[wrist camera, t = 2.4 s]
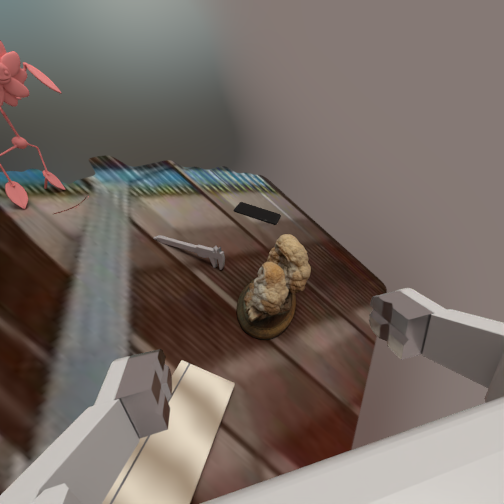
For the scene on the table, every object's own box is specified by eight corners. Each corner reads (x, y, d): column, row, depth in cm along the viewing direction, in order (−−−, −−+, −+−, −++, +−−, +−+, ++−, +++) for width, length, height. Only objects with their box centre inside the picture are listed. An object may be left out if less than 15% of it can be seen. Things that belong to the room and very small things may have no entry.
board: (116, 700, 18) (112, 709, 17) (23, 633, 19) (14, 638, 18) (233, 387, 36) (234, 383, 36) (181, 364, 38) (181, 360, 37)
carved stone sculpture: (253, 268, 58) (269, 207, 48) (300, 285, 57) (326, 225, 46) (224, 327, 44) (236, 259, 34) (284, 351, 43) (317, 288, 32)
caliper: (223, 269, 57) (226, 248, 53) (221, 271, 56) (223, 251, 52) (156, 237, 61) (153, 217, 57) (152, 239, 61) (150, 218, 57)
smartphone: (276, 224, 75) (233, 210, 78) (275, 226, 76) (232, 212, 78) (281, 214, 80) (240, 201, 83) (280, 216, 81) (240, 203, 83)
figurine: (-28, 213, 56) (-160, 8, 35) (67, 178, 76) (21, 34, 55) (26, 233, 55) (-77, 31, 33) (109, 192, 75) (79, 49, 53)
